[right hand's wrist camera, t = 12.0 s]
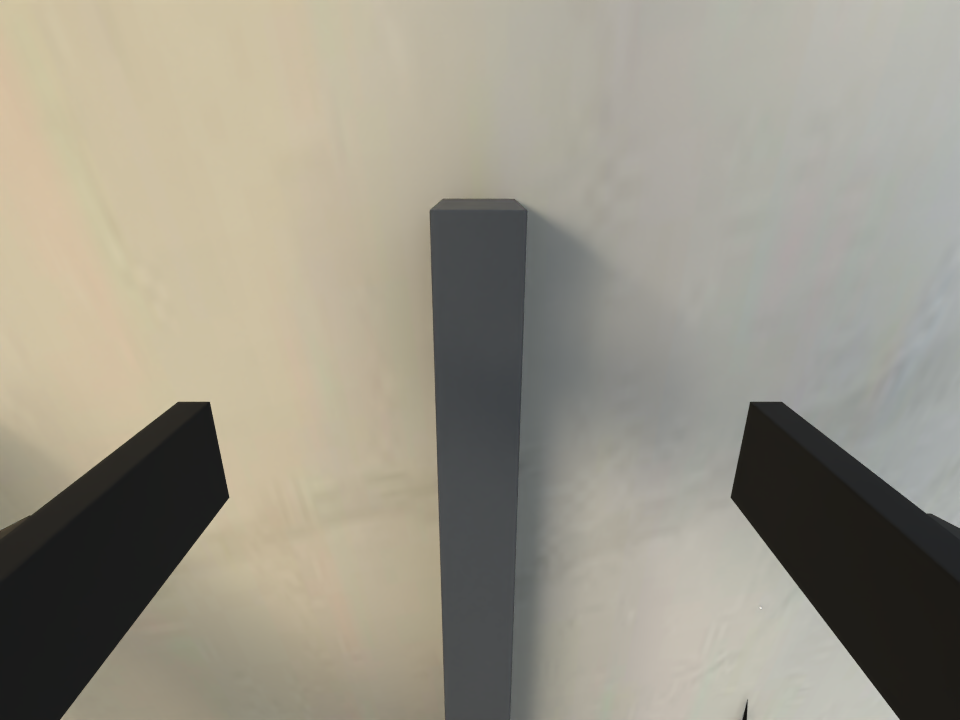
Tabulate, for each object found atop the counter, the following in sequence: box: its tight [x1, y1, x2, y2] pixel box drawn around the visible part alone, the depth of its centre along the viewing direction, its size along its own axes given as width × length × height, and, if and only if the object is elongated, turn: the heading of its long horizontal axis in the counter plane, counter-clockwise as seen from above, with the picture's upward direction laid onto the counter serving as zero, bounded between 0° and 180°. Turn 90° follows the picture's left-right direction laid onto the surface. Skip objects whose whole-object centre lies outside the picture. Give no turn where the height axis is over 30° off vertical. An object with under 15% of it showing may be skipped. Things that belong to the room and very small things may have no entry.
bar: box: [430, 199, 527, 720], centre depth 37 cm, size 55×4×9 cm, turn 0°
